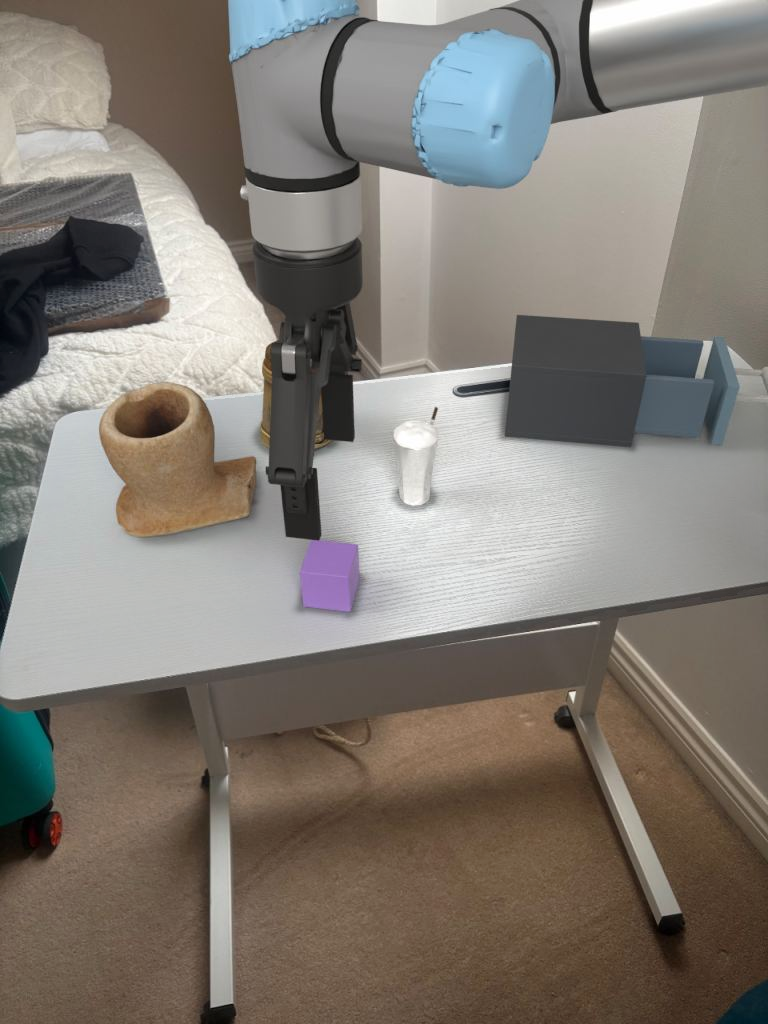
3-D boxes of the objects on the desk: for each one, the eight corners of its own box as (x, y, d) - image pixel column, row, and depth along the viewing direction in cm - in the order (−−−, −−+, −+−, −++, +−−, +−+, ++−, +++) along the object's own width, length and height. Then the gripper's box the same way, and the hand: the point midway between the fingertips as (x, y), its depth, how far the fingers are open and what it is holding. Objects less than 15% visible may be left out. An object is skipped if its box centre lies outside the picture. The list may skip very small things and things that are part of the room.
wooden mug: (311, 484, 92) (298, 336, 80) (246, 431, 100) (227, 290, 88) (374, 454, 96) (371, 309, 84) (307, 405, 104) (296, 268, 93)
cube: (359, 578, 80) (358, 543, 77) (350, 612, 76) (348, 577, 74) (314, 573, 80) (311, 539, 78) (303, 606, 77) (299, 571, 74)
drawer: (758, 397, 103) (776, 340, 98) (776, 450, 94) (797, 390, 89) (598, 385, 105) (608, 329, 100) (601, 435, 97) (612, 376, 92)
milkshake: (449, 493, 90) (453, 415, 84) (415, 515, 87) (416, 436, 81) (419, 475, 93) (421, 398, 86) (385, 496, 90) (384, 418, 83)
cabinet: (624, 391, 106) (638, 322, 100) (630, 447, 96) (646, 374, 90) (510, 382, 108) (516, 314, 102) (504, 436, 98) (511, 365, 92)
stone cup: (119, 564, 82) (82, 438, 72) (119, 492, 91) (86, 372, 81) (271, 539, 84) (256, 414, 75) (257, 471, 93) (241, 352, 84)
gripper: (298, 176, 67) (313, 402, 80) (192, 316, 48) (235, 580, 61) (390, 181, 66) (390, 408, 79) (319, 325, 47) (335, 591, 60)
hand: (322, 484), depth 70 cm, fingers open, 13 cm apart
